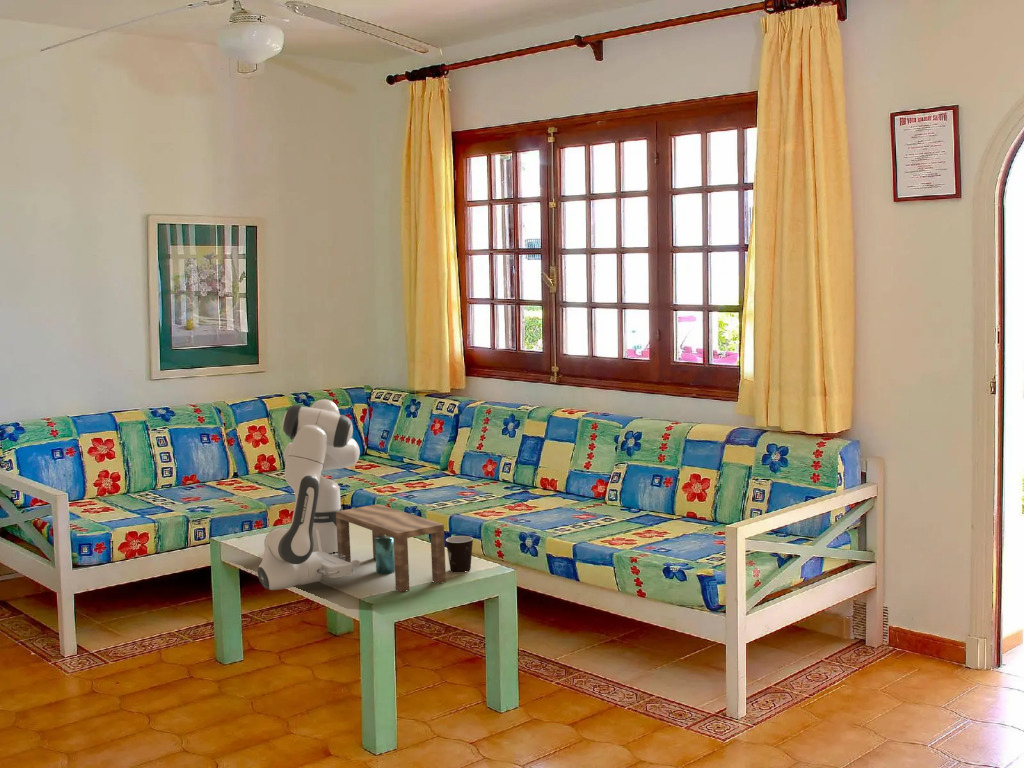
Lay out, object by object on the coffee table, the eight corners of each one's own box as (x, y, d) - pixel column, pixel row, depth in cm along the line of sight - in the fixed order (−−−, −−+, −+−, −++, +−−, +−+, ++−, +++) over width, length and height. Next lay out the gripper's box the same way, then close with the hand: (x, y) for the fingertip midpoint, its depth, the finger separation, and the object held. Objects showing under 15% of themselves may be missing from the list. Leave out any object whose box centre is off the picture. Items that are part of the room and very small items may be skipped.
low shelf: (400, 592, 319) (398, 533, 317) (338, 565, 351) (335, 511, 350) (445, 581, 329) (443, 524, 327) (381, 556, 361) (378, 504, 359)
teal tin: (373, 573, 341) (371, 539, 339) (381, 568, 346) (379, 534, 345) (390, 574, 339) (388, 540, 337) (398, 569, 344) (396, 535, 343)
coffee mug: (448, 566, 346) (447, 536, 345) (474, 566, 346) (473, 535, 345) (444, 576, 334) (443, 545, 333) (472, 576, 334) (471, 544, 333)
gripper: (326, 564, 318) (367, 556, 326) (296, 551, 334) (335, 543, 343) (327, 585, 319) (368, 576, 327) (297, 571, 335) (336, 563, 343)
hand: (351, 559), depth 335 cm, fingers open, 8 cm apart
